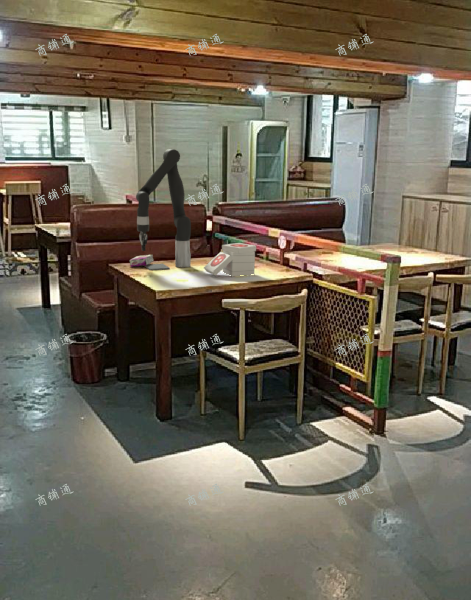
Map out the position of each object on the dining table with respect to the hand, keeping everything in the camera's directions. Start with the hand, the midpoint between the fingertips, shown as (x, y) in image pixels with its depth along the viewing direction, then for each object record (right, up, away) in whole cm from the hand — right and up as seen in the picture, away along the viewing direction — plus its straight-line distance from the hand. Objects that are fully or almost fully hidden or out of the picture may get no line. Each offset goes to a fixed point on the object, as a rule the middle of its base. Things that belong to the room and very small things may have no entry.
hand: (143, 250), depth 399 cm
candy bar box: (-4, -7, +4) cm, 9 cm away
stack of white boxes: (+56, -16, -12) cm, 59 cm away
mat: (+8, -10, +6) cm, 14 cm away
